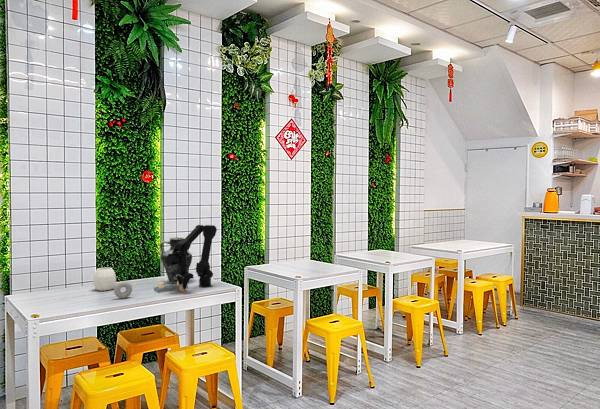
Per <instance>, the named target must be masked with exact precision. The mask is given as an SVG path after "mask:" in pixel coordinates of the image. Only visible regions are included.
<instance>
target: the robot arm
mask: <svg viewBox="0 0 600 409" xmlns="http://www.w3.org/2000/svg"><path fill="white" fill-rule="evenodd" d="M217 230H218V229H217V226H216V225H213V224H212V225H211V224H205V225H203V224H197V225H196V226H195V227H194V229H193V230H192V231H191V232H190V233H189V234H188V235H187V236H186V237H184V239H183V240H181V241H179V242H178V243H177V244H176V245H175V248H174V250H173V252H172V254H168V256H167V257H166V263H167V265H175V264H177V265H176V268H173V269H171V270H169V271H168V273H169V276H171V277H174V276H175V275H176V276H175V278H176V279H177V280H178V282H179V286H180V284H183V289H185V288H186V286H187V285H188V284H189V281H190V280H191V279H194V274H193V273H191V272H189V270H188V271H187V267H188V265H187V255H190V254H189V253H188V252H187V251H189V249H191V245H192V243H193V242H194V241H195V240H196V239H197V237H199V236H200V235H201V234H202V235H203V238H204V239H203V245H202V251H201V256H200V261H199V262H196V267H195V273H196V274H197V277H199V281H198V287H200V288H210V287H213V285H212V277H213V275H214V273H213V272H212V270H211V265H210V263H209V259H210V254H211V249H212V242H213V239H214V238H215V236H216V233H217ZM177 251H178V252H177Z"/></svg>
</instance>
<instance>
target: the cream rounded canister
mask: <svg viewBox="0 0 600 409" xmlns="http://www.w3.org/2000/svg"><path fill="white" fill-rule="evenodd" d="M92 279H93V286H94V289H95V290H96V291H101V292H103V291H104V292H107V291H111V290H114V288H115V286H116V284H117V276H116V272H115V270H114V269H113V268H112V267H108V266H106V267H99V268H96V270H95V272H94V275H93V278H92ZM106 290H107V291H106Z"/></svg>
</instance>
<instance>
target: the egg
mask: <svg viewBox="0 0 600 409" xmlns="http://www.w3.org/2000/svg"><path fill="white" fill-rule="evenodd" d="M178 291H179V293H186V292H187V289H186V288H185V289H183V284H180V286H179V290H178Z"/></svg>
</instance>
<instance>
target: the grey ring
mask: <svg viewBox="0 0 600 409" xmlns="http://www.w3.org/2000/svg"><path fill="white" fill-rule="evenodd" d="M122 288H125V291H124V292H122V290H121V289H122ZM132 292H133V286H132V284H131V283H130V282H128V281H126V280H123V281H119V282H116V285H115V287H114V288H113V293H114V295H115V296H116V297H117V298H118V299H126V298H128V297H130V295H131V294H132Z"/></svg>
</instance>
